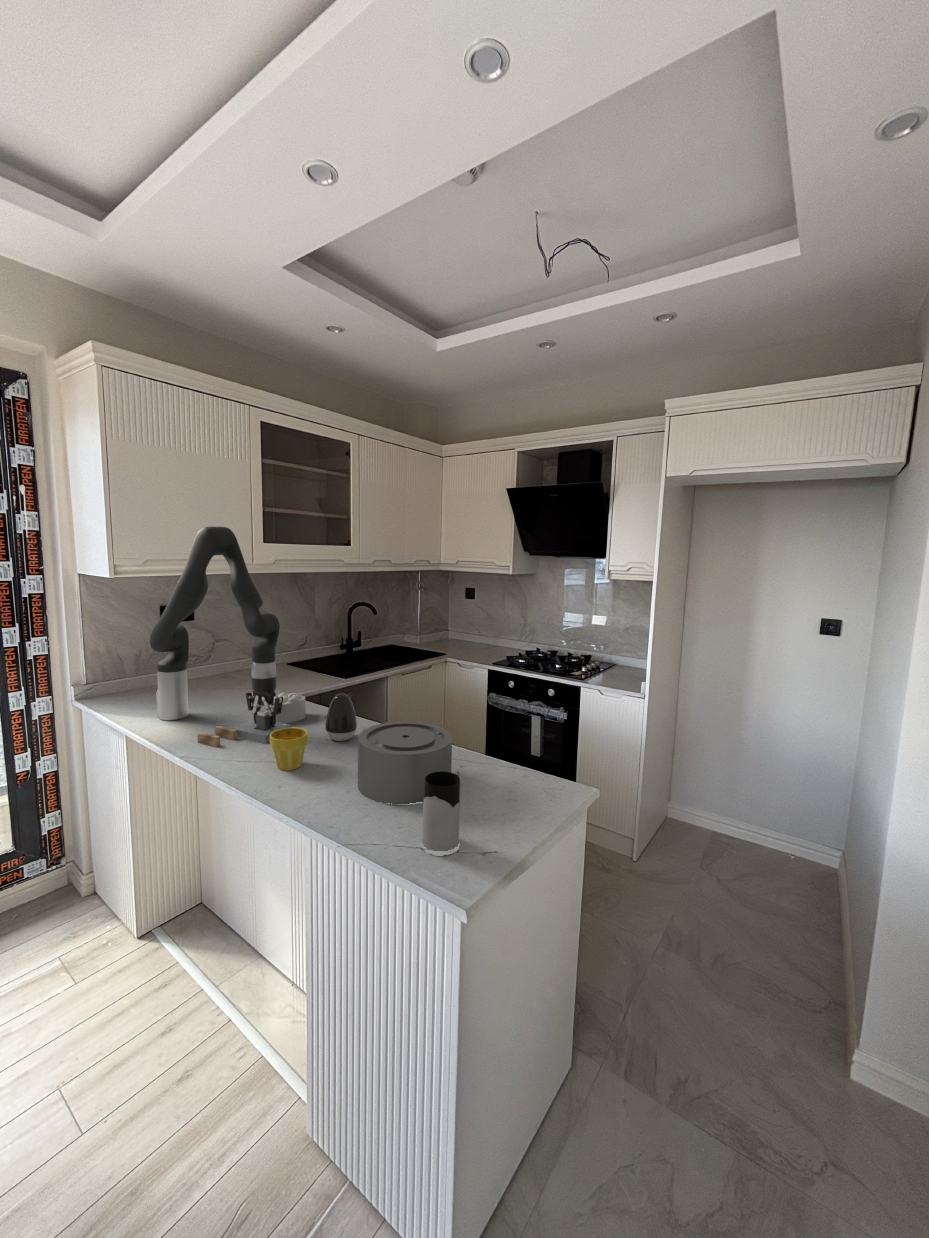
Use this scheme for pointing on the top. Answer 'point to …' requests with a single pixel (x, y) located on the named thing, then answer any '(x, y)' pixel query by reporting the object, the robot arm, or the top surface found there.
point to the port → (259, 732)
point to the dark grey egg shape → (341, 718)
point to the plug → (262, 720)
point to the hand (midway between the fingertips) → (264, 724)
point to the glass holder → (441, 811)
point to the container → (401, 760)
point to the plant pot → (289, 747)
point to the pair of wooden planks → (217, 736)
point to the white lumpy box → (291, 708)
